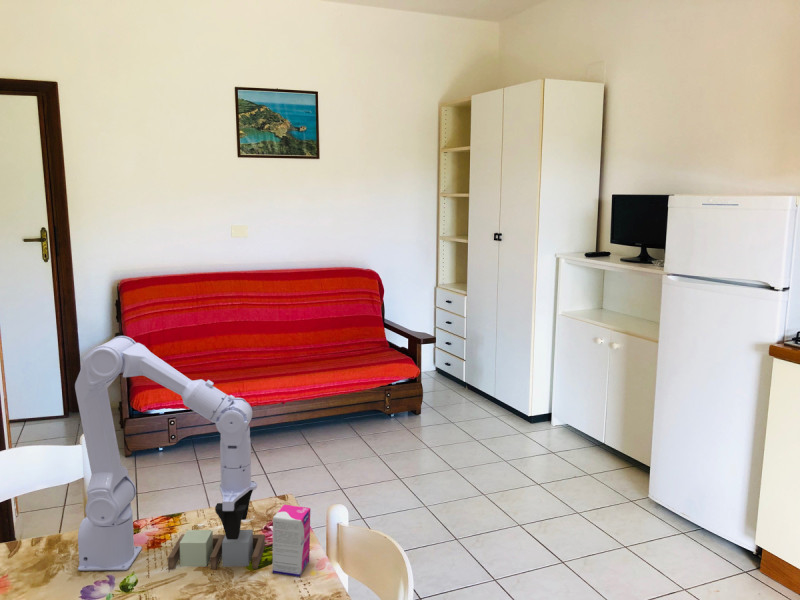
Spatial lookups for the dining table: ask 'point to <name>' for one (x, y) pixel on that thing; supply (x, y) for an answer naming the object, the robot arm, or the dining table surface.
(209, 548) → the sage block
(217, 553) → the comb rack
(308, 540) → the supplement box
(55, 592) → the dining table surface
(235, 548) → the slate block
